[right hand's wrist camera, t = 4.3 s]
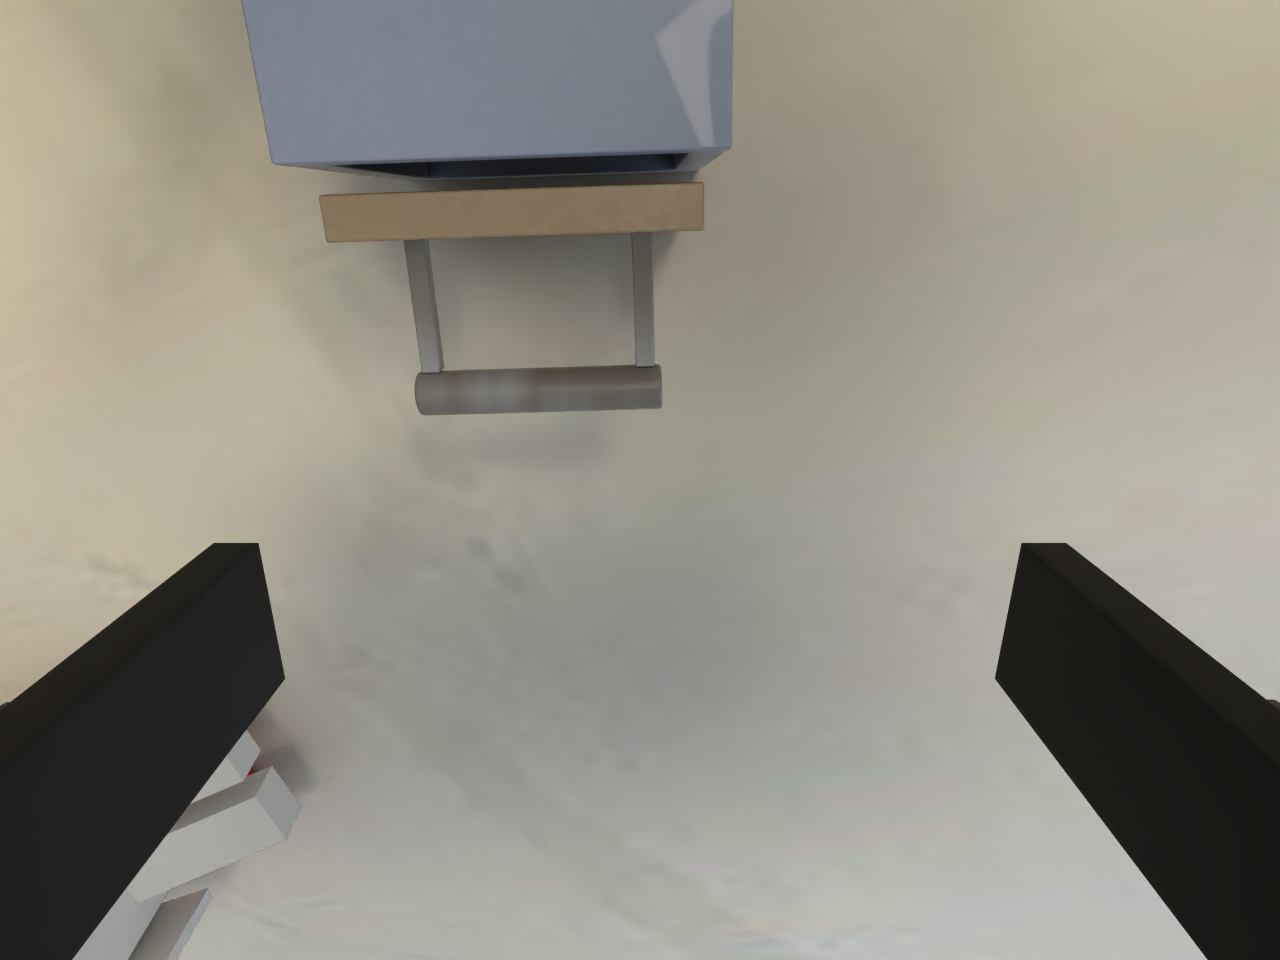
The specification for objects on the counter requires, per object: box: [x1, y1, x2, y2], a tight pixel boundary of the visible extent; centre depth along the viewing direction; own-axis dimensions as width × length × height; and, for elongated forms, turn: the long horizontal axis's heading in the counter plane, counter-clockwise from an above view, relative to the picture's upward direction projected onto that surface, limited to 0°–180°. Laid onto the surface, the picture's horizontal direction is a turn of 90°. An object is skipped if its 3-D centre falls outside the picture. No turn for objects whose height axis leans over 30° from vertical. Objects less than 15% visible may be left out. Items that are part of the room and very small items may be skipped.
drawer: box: [319, 182, 704, 415], centre depth 22 cm, size 24×10×10 cm, turn 2°
